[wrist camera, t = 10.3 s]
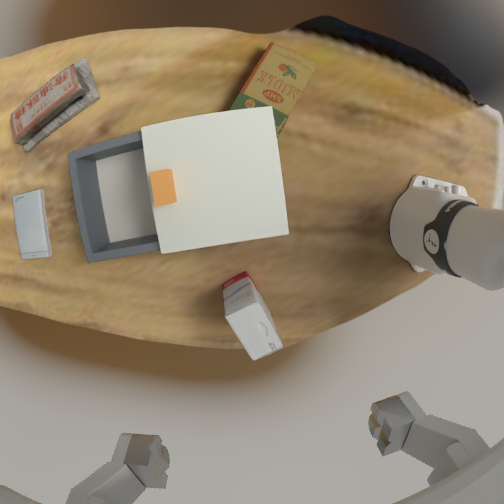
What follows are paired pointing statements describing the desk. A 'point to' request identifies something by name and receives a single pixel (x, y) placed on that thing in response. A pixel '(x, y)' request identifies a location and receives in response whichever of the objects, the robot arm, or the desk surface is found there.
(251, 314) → the ink box
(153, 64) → the desk surface
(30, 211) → the hard drive
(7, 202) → the desk surface
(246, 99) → the carton
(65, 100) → the packaged product
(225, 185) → the lid flap
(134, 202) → the charcoal box
